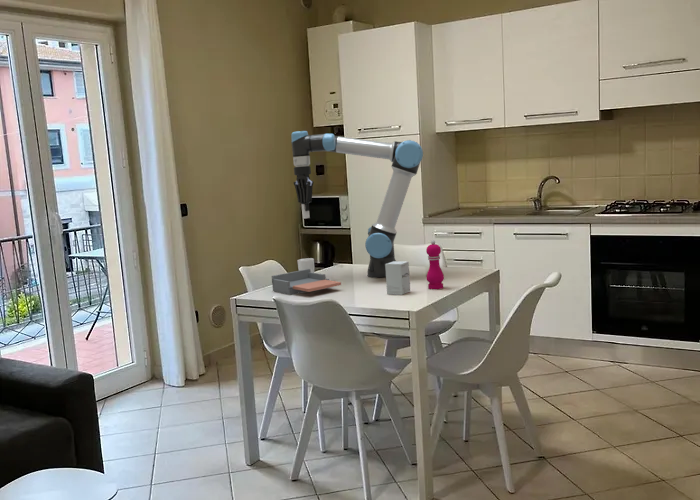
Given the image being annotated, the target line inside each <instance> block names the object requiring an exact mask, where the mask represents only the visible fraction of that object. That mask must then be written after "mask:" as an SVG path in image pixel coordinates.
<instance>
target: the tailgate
mask: <svg viewBox="0 0 700 500" xmlns="http://www.w3.org/2000/svg"><path fill="white" fill-rule="evenodd" d="M338 286H342V281H336V280H330V279H329V280H320V281H315V282H310V283H305V284H300V285H296V286H293V289H296V290H301V291H306V292H309V293H310V292H314V291H319V290H324V289H329V288H333V287H338Z"/></svg>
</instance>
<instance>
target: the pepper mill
mask: <svg viewBox="0 0 700 500" xmlns="http://www.w3.org/2000/svg"><path fill="white" fill-rule="evenodd" d="M441 252H442V249H441V246H440V245H439V244H436V240H433V239H432V240H431V242H430V244H429V245H428V246H427V247H426V254H427V255H428V256H427V258H428V261H429V267H428V271H427V272H426V273H427V274H426V281H427V282H428V284H427V285H428V286H427V289H428V290H431V289H437V290H442V289H444V283H443V282H444V280H445V276H444V272H443V271H442V270H443V269H441V265H440V260H441Z"/></svg>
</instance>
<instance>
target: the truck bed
mask: <svg viewBox="0 0 700 500" xmlns="http://www.w3.org/2000/svg"><path fill="white" fill-rule="evenodd" d="M320 280H330V278H327V276H326V274H323V273H317V272H314V273H312V272H311V271H310V269H306V270H300V271H299V270H296V271H291V272H286V273H278V274H275V275H271V284H272V285H271V286H272V292H273V291H274V293H279V294H284V295H288V296H291V295H296V294H301V293H305V292H307V291H301V290H296V289H293V286H296V285H300V284H305V283H310V282H315V281H320Z"/></svg>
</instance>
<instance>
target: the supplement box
mask: <svg viewBox="0 0 700 500" xmlns="http://www.w3.org/2000/svg"><path fill="white" fill-rule="evenodd" d="M409 264H410V263H409V261H408V260H407V261H406V260H405V261H404V260H402V261H401V260H400V261H399V260H398V261H397V260H396V261H393V262H390V263H387V264H385V268H386V277H385V283H386V295H395V296H396V295H398V296H403V295H404V294H407V293H409V292H411V279H410V266H409Z"/></svg>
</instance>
